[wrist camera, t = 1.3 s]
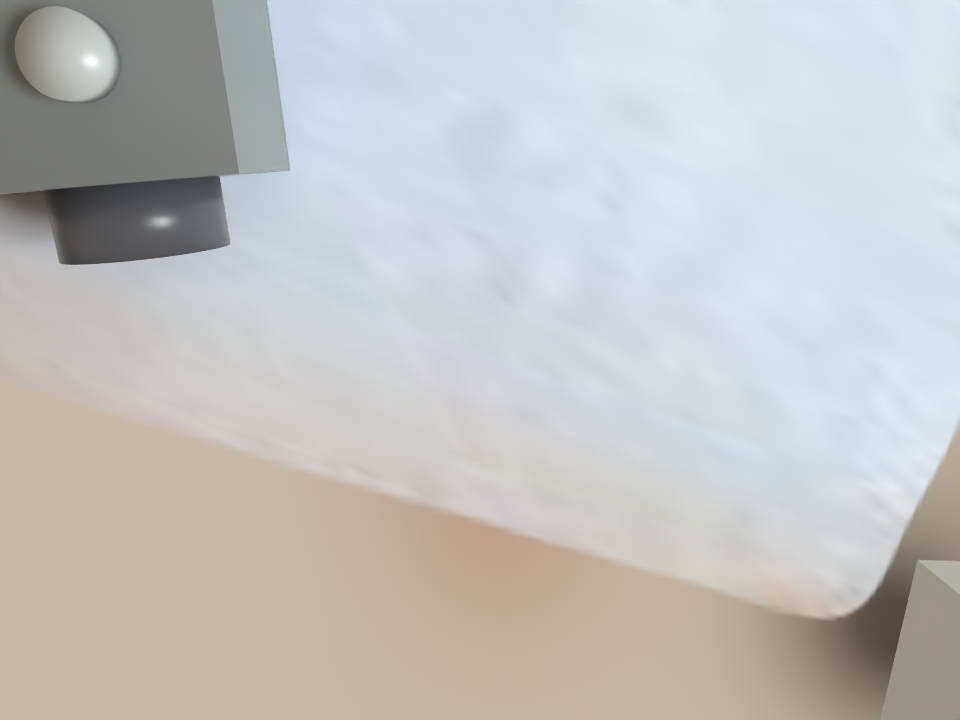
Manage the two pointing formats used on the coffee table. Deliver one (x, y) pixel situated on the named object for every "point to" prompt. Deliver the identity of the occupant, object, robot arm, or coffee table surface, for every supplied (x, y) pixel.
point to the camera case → (136, 118)
